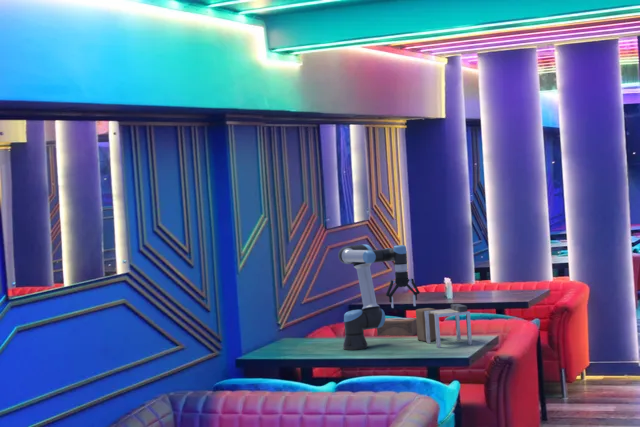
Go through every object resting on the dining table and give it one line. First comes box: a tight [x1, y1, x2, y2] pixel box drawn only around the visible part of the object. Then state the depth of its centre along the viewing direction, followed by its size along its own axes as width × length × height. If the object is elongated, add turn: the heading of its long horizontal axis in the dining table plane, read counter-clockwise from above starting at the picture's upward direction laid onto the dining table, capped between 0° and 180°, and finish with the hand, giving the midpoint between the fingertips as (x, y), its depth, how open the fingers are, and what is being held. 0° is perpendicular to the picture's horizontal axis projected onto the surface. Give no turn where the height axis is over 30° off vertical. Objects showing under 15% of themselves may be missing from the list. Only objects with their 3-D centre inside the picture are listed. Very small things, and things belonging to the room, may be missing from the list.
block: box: [415, 307, 436, 342], centre depth 609 cm, size 10×10×20 cm
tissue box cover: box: [376, 317, 417, 337], centre depth 645 cm, size 26×14×10 cm, turn 63°
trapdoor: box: [429, 303, 468, 315], centre depth 590 cm, size 17×19×4 cm
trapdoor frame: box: [424, 308, 473, 349], centre depth 590 cm, size 22×22×20 cm
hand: (403, 306), depth 568 cm, fingers open, 13 cm apart
